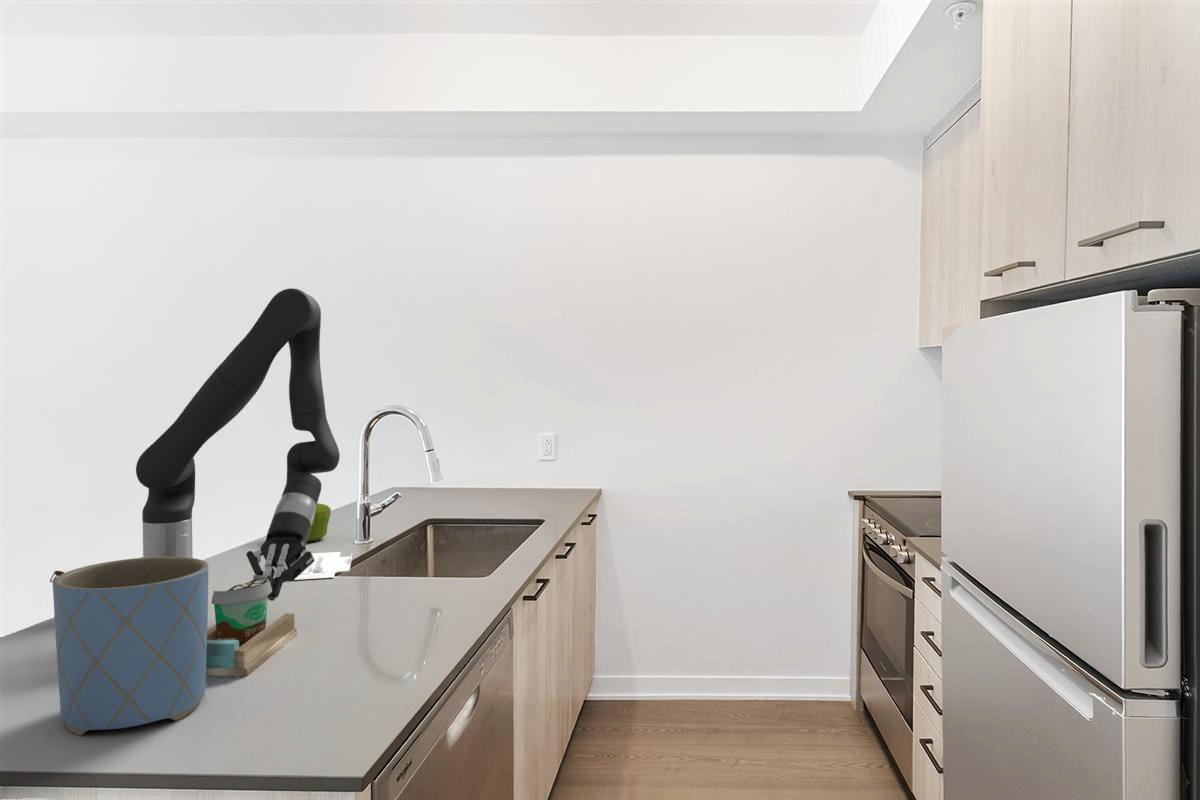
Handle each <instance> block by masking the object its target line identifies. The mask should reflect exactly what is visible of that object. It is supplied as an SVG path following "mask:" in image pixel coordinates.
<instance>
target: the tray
mask: <svg viewBox="0 0 1200 800" xmlns="http://www.w3.org/2000/svg"><path fill="white" fill-rule="evenodd" d="M311 554H312V555H313V557H314V562H313V563H312V564H311V565H310V566H309V567H308V568H306V569H305V570H304V571H303V572H302V573H301V574H300V575H299V576H298V577H297V578H295V579H294V580H293V581H296V580H309V579H310V580H312V579H313V580H314V579H328V578H335V574H336V573H348V572H350V569H351V565H352V560H353V553H352V552H351V554H350V556H349V555H348V556H341V552H340V551H334V552H333V551H331V552H316V553H315V552H314V553H312V552H311ZM295 562H296V561H295ZM295 562H294V563H295ZM262 571H264V569H263V570H262ZM274 578H275V577H274Z"/></svg>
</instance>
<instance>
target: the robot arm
mask: <svg viewBox="0 0 1200 800" xmlns="http://www.w3.org/2000/svg"><path fill="white" fill-rule="evenodd" d="M321 310H322V309H321V307H320V304H319V303H318V301H317V300H316V299H315V297H313V296H311V295H309V294H308V293H306V292H305V291H303V290H301V289H299V288H295V287H294V288H286V289H283V290H280V291H278V292H277V293H276V294H275V295H274V296H273V297H272V298H271V299H270V301H269V302H268V304H267V305H266V307H265V308H264V309H263V311H262V313H261V314H260V316H259V317H258V319H257V320H256V321H255V323H254V324H253V326H252V327H251V329H250V330H249V332H247V334H246V335H245V336H244V338H242V339H241V341H240V342H239V343H238V344H237V345H236V346H235V347H234V348H233V350H232V351H231V352H229V354H228V355H227V356H226V357H225V359H224V360H223V361H222V362H221V363H219V365H218V366H217V367H216V369H214V371H213V372H212V373H211V374H210V375H209V377H208V378H207V379H206V380H205V382H204V383H203V384H202V386H201V387H200V388H199V389H198V391H197V392H196V393H194V395H193V397H192V398H191V399H190V400H189V402H188V403H187V405H186V406H185V407H184V409H183V410H182V412H181V413H180V414H179V416H178V417H177V418H176V419H175V421H174V422H173V423H172V424H171V425H170V426H169V427H168V428H166V430H165V431H164V432H163V433H162V434H160V436H159V437H158V438H157V439H156V440H155V441H154V442H153V443H152V444H150V446H148V447H147V448H146V449H145V450H144V451H143V452H142V453H141V454H140V456H139V457H138V460H137V462H136V466H135V474H136V478H137V481H138V482H139V483H140V485H142V486H143V487H145V488H147V489H148V494H147V500H146V502H145V504H144V507H143V508H142V515H141V516H142V556H141V557H140V558H147V557H188V558H193V508H194V504H195V501H196V500H195V498H196V497H195V496H196V462H195V459H194V457H195V456H196V455H197V453H199V451H200V450H201V448H202V447H203V445H205V443H207V441H208V440H210V439H211V438H212V437H213V436H214V435H215V434H217V433H218V432H219V431H220V430H221V429H223V428H224V427H225V426H226V425H228V424H229V423H230V422H231V421H232V420H234V418H235V417H236V416H238V415H239V413H240V412H242V410H243V409H244V408H245V407H246V406H247V404H248V403H249V402H250V401H251V400H252V399H253V397H254V396H255V395H256V394H257V392H258V391H259V390H260V388H261V386H262V384H263V383H264V381H265V379H266V376H267V375H268V372H269V370H270V367H271V366H272V364H273V361H274V360H275V358H276V356H277V355H278V354H279V352H280V351H281V350H282V349H283V348H284V347H285V346H286V344H287V343H288V347H289V353H290V354H289V355H290V369H289V370H290V371H289V380H288V381H289V383H288V396H289V397H288V398H289V408H290V418H291V423H292V426H293V428H294V430H297V431H304V432H309V433H310V434H311V435H312V437H313V438H314V440H311V441H310V440H309V441H308V440H307V441H302V442H297V443H295V444H293V446H291V447H290V449H289V450H288V451H287V455H286V483H285V486H284V489H283V492H282V494H281V497H280V500H279V501H278V504H277V505H276V507H275V511H274V513H273V517H272V518H271V519H272V520H271V522H270V524H269V528H268V530H267V534H266V538H265V541H264V542H263V543H262V544H261V546H260V549H257V550H256V551H252V550H249V551H247V552H246V554H245V555H246V557H247V560H248V562H249V564H250V566H251V569H252V570H253V572H254V575H260V576H265V577H267V578H268V579H269V581H270V584H271V588H272V592H271V593H270V594H269V595H268V600H269V601H271V602H273V601H275V599H277V598H278V597H279V595H280V593H281V589H282V586H283V584H284V583H285V582H287V581H290V582H293V581H295V580H294V579H295V578H297V577H298V576H299V575H300V574H301V573H302V572H303V571H304V570H305V569H306V568H308V567H309V566H310V565H311V564H312V563H313V562H314V557H313V555H312V554H311V553H312V551H309V550H308V551H307V547H306V545H307V539H308V536H309V532H310V529H311V526H312V524H313V521H314V516H315V509H316V505H317V503H318V501H319V498H320V495H321V491H322V482H321V480H320V479H319V478H318V477H317V476H315V474H320V473H321V474H323V473H329V472H333V471H334V470H335V469H337V466H338V465H339V462H340V456H341V455H340V450H339V447H338V444H337V442H336V439H335V437H334V435H333V433H332V430H331V427H330V425H329V422H328V419H327V413H326V411H327V410H326V404H325V395H324V388H323V387H324V386H323V380H322V371H321V369H322V368H321V354H320V348H321V347H320V343H321V341H320V339H321V322H322V311H321ZM262 557H263V558H264V560H265V563H264V569H263V570H264V571H263V570H262V567H261V561H262ZM295 561H296V562H295ZM294 562H295V563H294ZM274 577H275V578H274Z"/></svg>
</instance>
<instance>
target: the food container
mask: <svg viewBox="0 0 1200 800" xmlns="http://www.w3.org/2000/svg"><path fill="white" fill-rule="evenodd" d="M271 592H272V588H271V584H270V581H269V579H268V578H267V577H265V576H260V575H255V574H253V577H252V580H250V581H248V582H244V583H241V584H236V585H234V586H232V587H231V588H229V589H227V590H213V593H212V595H211V596H212V597H211V605H214V619H215V625H216V631H217V640H239V646H242V645H243V644H245V643H246V642H247V641H249V640H250V639H252V638H253V637H254V636H256V635H257V634H258V633H260V632H261V631H262V630H264V629H265V628H267V611H268V600H269V599H268V595H269V594H270V593H271Z"/></svg>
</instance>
